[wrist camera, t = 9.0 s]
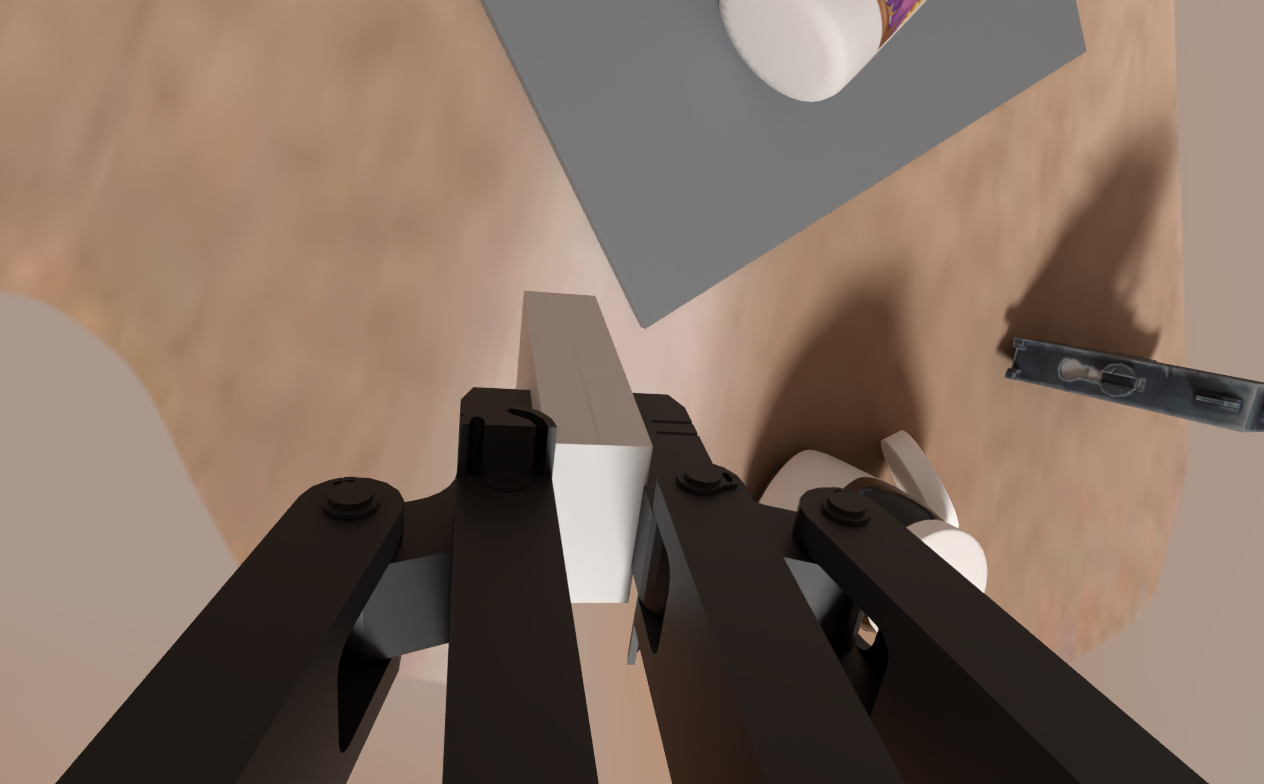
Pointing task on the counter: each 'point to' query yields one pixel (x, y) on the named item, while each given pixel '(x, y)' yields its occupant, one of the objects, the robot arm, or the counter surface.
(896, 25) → the milk bottle
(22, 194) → the counter surface
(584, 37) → the rubber mat
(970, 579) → the spread jar
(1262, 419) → the gun
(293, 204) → the counter surface
